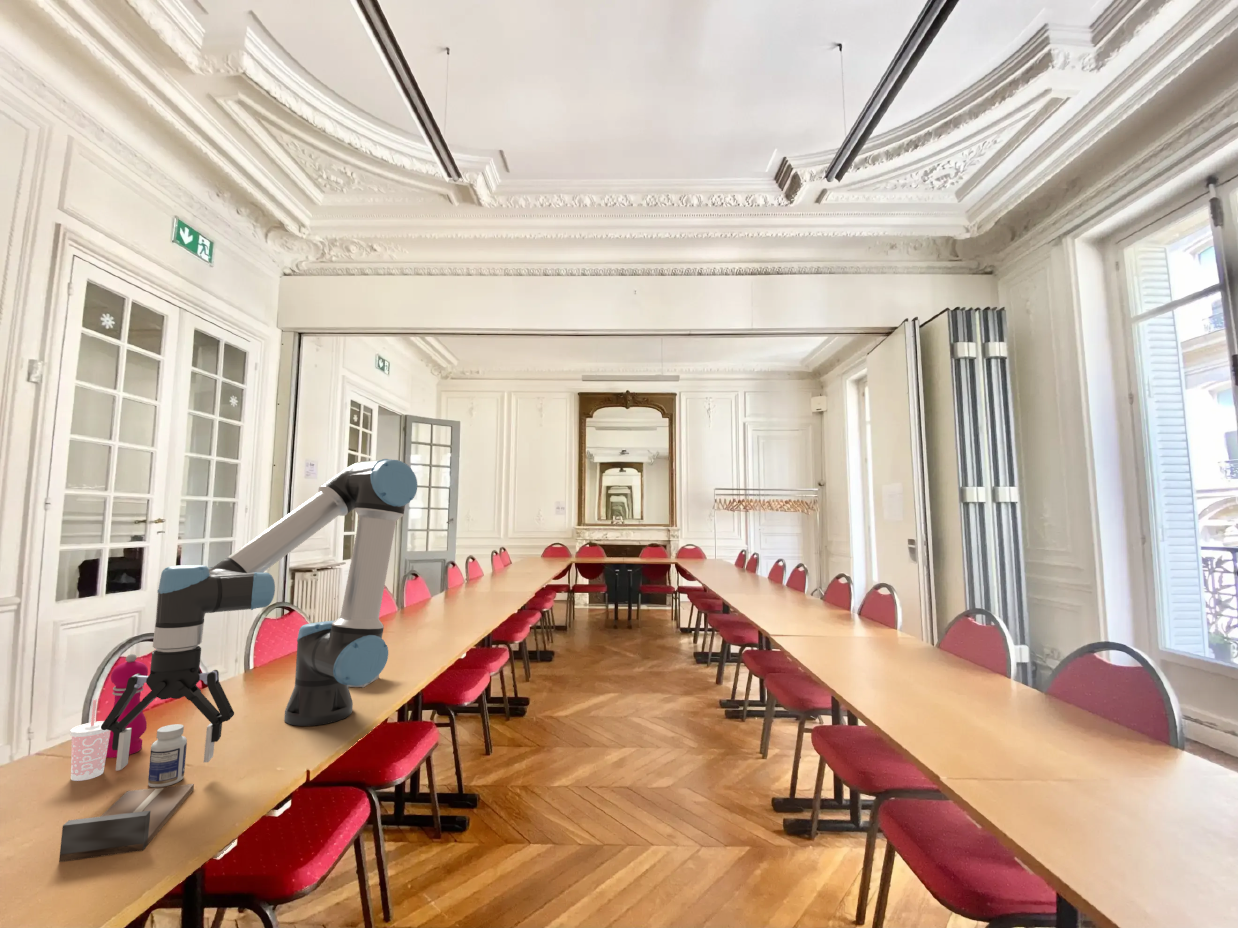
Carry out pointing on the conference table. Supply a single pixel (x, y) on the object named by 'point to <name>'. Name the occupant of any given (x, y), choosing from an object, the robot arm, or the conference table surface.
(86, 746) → the beverage cup
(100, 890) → the conference table surface
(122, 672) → the pepper mill
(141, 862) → the conference table surface
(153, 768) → the pill bottle
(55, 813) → the conference table surface
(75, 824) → the board
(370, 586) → the robot arm
